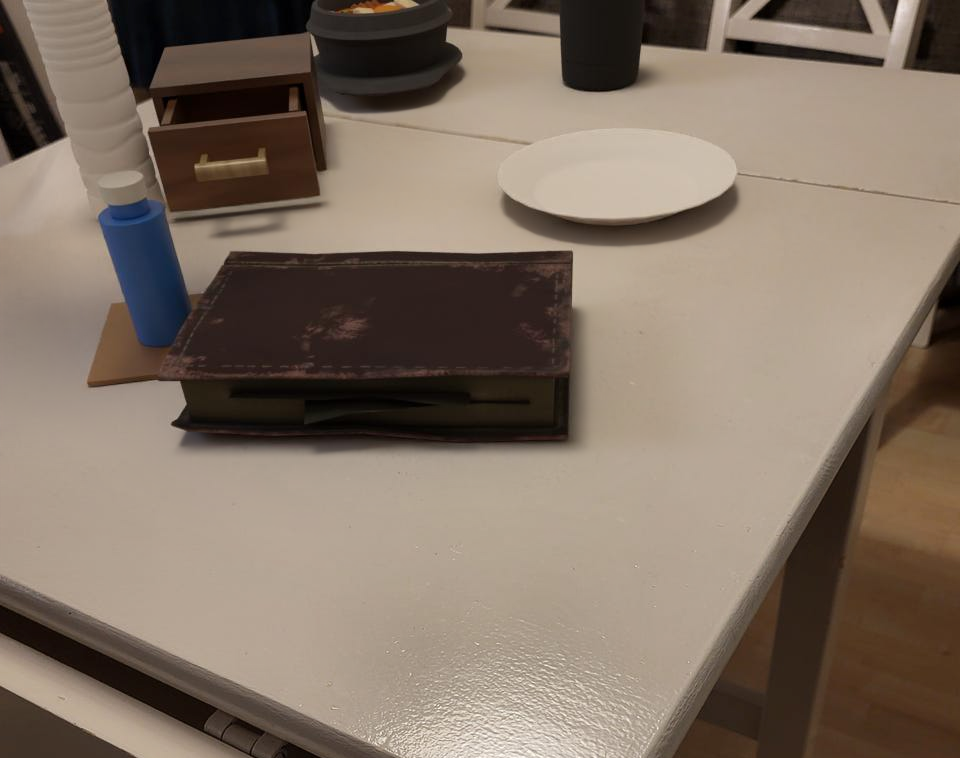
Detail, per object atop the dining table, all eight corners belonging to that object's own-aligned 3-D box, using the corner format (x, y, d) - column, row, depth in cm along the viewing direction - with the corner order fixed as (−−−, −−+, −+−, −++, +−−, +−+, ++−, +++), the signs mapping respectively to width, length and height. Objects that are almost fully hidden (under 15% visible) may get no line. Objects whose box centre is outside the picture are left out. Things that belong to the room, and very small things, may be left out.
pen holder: (645, 90, 107) (651, -15, 100) (560, 95, 108) (559, -10, 101) (637, 65, 114) (642, -35, 107) (557, 69, 114) (557, -30, 108)
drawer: (320, 214, 85) (306, 131, 80) (165, 231, 85) (141, 148, 80) (318, 148, 97) (306, 72, 93) (182, 163, 97) (162, 87, 92)
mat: (88, 387, 68) (86, 382, 68) (112, 308, 77) (111, 303, 76) (231, 370, 69) (230, 365, 68) (239, 293, 77) (238, 288, 77)
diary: (245, 305, 75) (231, 242, 71) (571, 306, 73) (573, 240, 69) (171, 446, 61) (149, 376, 58) (567, 451, 59) (569, 379, 56)
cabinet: (326, 169, 96) (310, 71, 89) (175, 186, 95) (149, 88, 89) (324, 123, 105) (310, 32, 99) (187, 138, 105) (164, 47, 99)
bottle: (134, 350, 71) (81, 195, 63) (141, 322, 74) (92, 170, 66) (195, 343, 71) (149, 187, 63) (199, 315, 74) (157, 163, 66)
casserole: (472, 104, 107) (467, 17, 101) (304, 119, 107) (289, 33, 101) (456, 43, 125) (451, -34, 119) (312, 56, 125) (299, -20, 119)
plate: (771, 173, 88) (775, 147, 87) (667, 265, 76) (669, 237, 75) (573, 140, 97) (573, 116, 96) (452, 217, 85) (450, 191, 84)
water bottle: (167, 194, 93) (77, -129, 76) (163, 220, 89) (65, -117, 71) (75, 205, 93) (-37, -118, 75) (65, 233, 88) (-57, -105, 71)
